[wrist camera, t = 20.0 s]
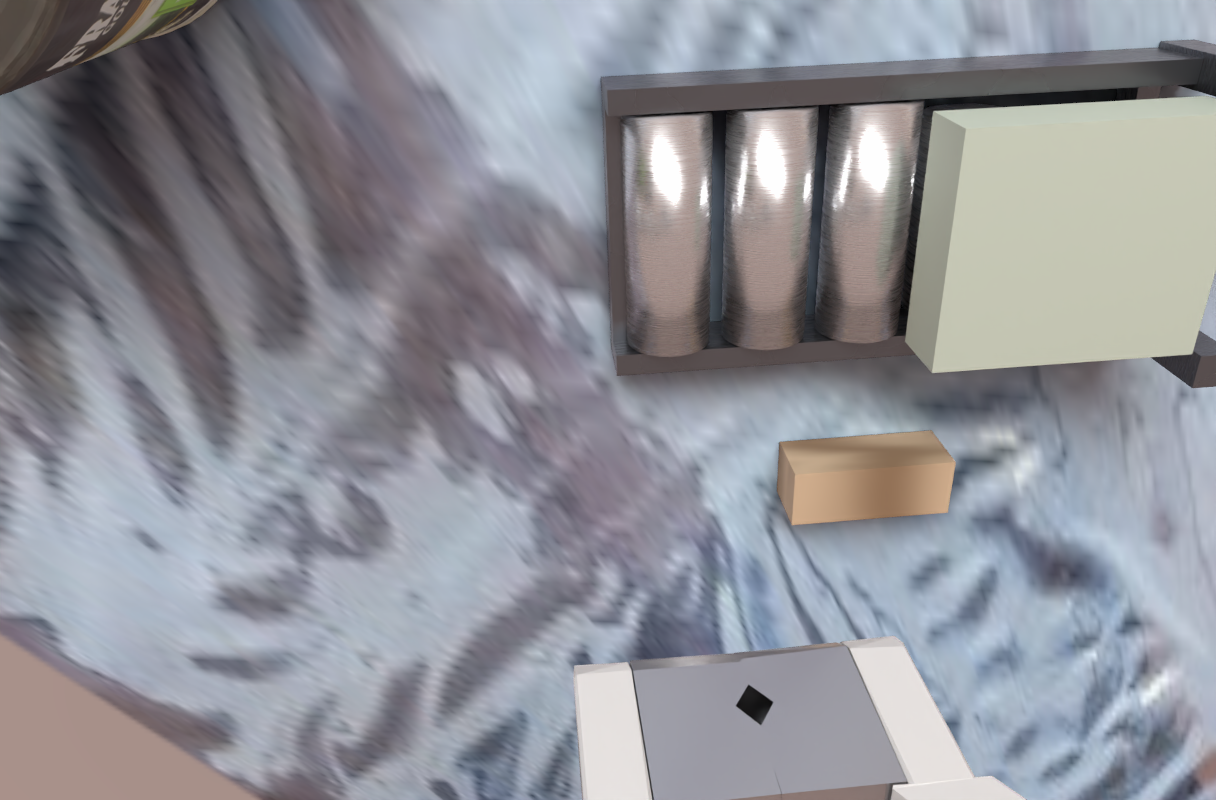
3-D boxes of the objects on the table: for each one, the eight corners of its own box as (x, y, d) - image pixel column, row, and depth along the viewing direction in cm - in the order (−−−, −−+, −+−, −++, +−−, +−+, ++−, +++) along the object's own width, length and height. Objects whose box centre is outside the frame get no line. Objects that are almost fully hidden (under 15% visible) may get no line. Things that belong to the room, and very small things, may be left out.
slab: (905, 341, 34) (931, 373, 32) (933, 110, 30) (966, 128, 28) (1149, 324, 35) (1192, 354, 32) (1207, 96, 31) (1260, 111, 29)
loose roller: (1023, 106, 33) (933, 101, 34) (1007, 125, 31) (912, 118, 32) (992, 296, 36) (912, 284, 38) (977, 326, 34) (891, 312, 35)
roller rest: (776, 490, 41) (791, 525, 38) (779, 442, 39) (795, 474, 37) (924, 478, 41) (947, 512, 39) (931, 430, 40) (955, 461, 38)
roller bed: (611, 352, 37) (627, 430, 32) (600, 70, 32) (618, 106, 27) (1127, 316, 38) (1225, 385, 33) (1194, 39, 33) (1322, 68, 28)
